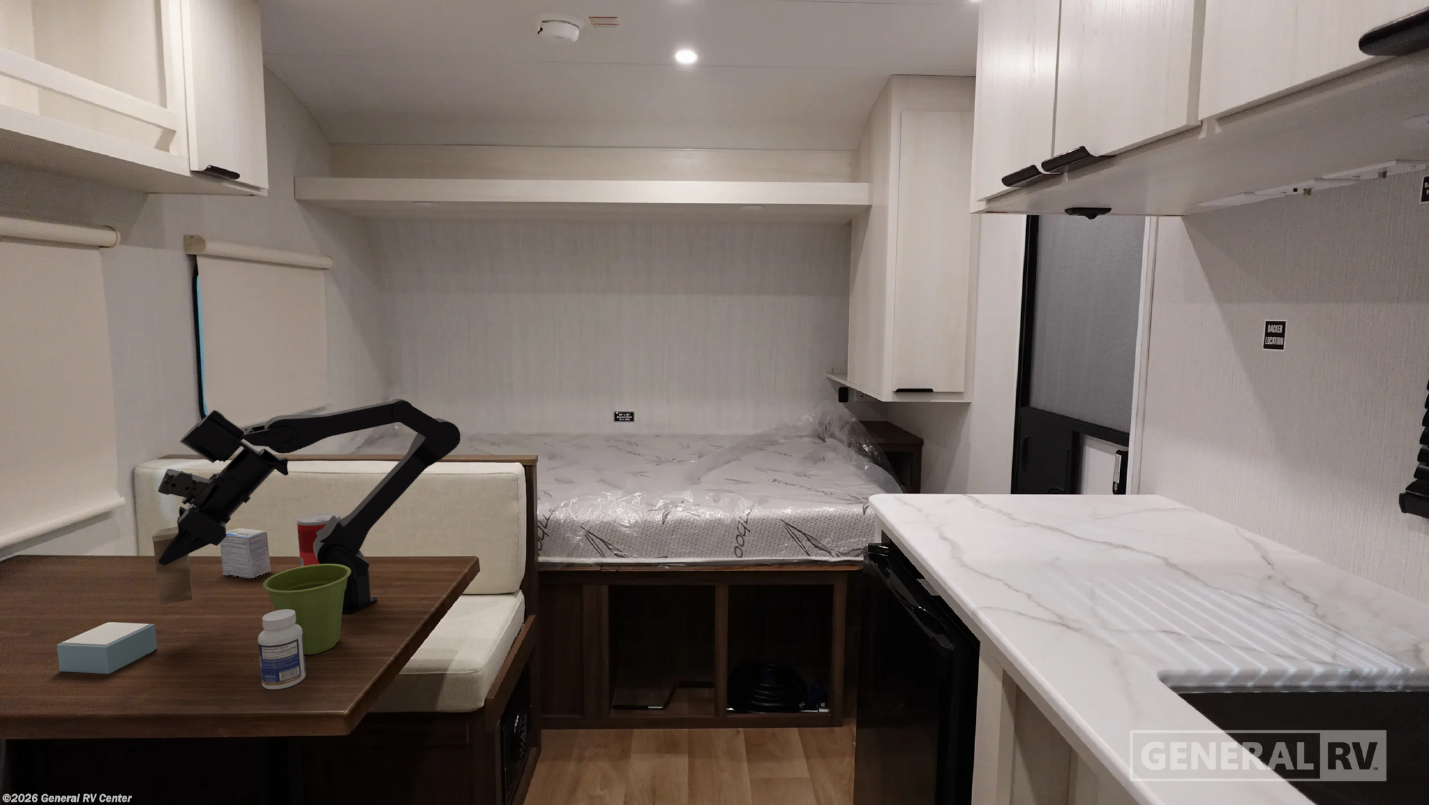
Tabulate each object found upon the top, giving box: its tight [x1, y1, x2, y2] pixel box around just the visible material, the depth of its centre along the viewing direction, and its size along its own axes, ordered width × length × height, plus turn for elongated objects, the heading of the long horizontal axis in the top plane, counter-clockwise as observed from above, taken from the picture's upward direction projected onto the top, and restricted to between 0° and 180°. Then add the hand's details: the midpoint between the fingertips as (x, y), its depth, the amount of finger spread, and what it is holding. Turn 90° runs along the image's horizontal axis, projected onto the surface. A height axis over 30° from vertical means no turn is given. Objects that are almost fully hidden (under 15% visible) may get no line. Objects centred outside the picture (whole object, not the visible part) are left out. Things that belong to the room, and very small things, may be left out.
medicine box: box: [219, 527, 271, 579], centre depth 147 cm, size 8×4×9 cm, turn 71°
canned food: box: [296, 512, 342, 567], centre depth 149 cm, size 8×8×11 cm
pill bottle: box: [257, 609, 307, 690], centre depth 103 cm, size 5×5×10 cm
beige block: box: [151, 526, 194, 606], centre depth 115 cm, size 4×4×11 cm
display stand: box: [56, 621, 158, 675], centre depth 110 cm, size 8×8×4 cm
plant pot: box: [262, 564, 351, 656], centre depth 113 cm, size 12×12×11 cm
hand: (161, 560), depth 114 cm, fingers closed on beige block, 4 cm apart
